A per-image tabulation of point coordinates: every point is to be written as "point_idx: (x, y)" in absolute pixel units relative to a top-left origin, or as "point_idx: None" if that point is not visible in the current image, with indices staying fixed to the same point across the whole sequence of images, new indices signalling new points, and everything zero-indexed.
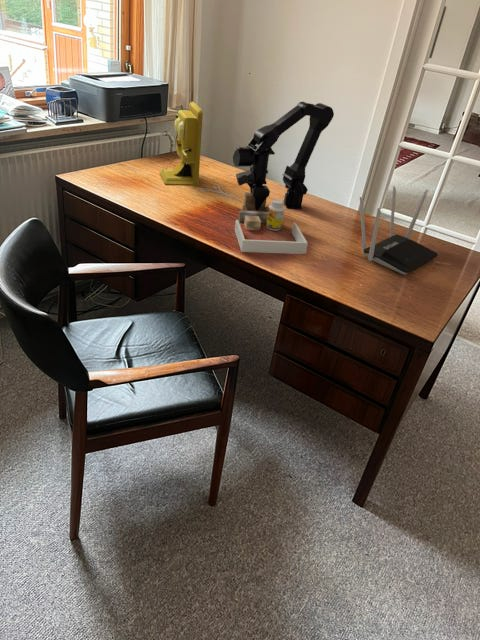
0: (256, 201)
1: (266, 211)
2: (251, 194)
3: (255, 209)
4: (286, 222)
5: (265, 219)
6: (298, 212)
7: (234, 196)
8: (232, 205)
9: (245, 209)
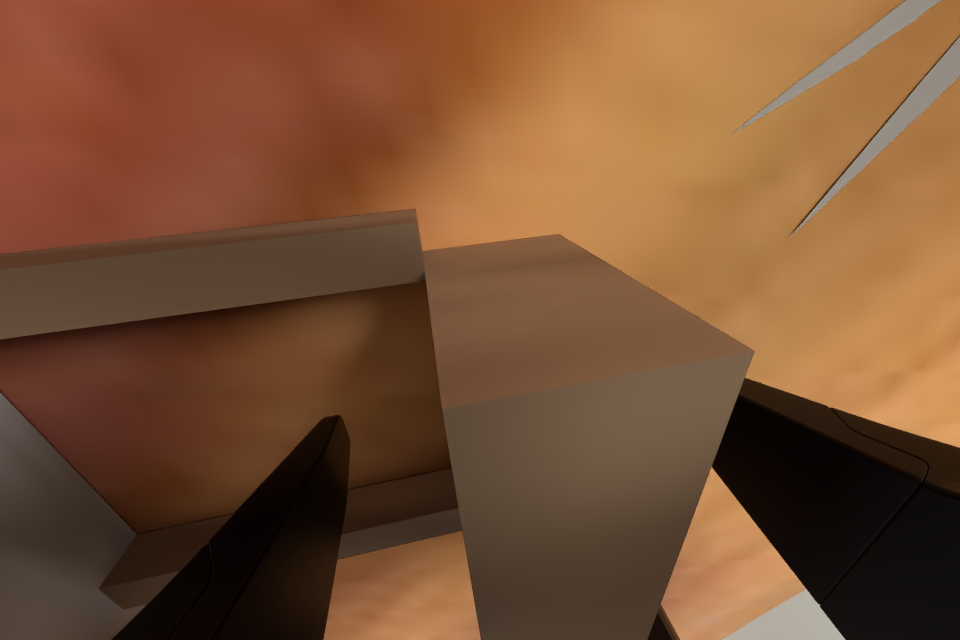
0: (178, 605)
1: (347, 519)
2: (577, 509)
3: (319, 424)
4: None
5: None
6: None
7: (933, 100)
8: (576, 7)
9: (214, 271)
